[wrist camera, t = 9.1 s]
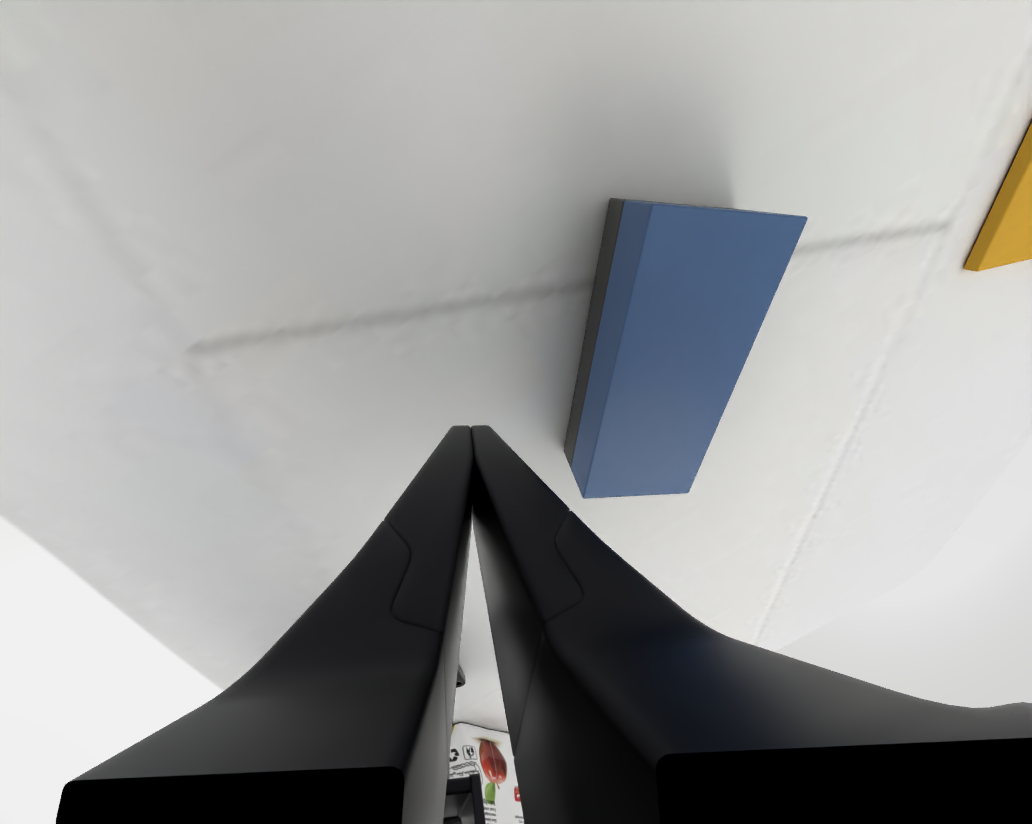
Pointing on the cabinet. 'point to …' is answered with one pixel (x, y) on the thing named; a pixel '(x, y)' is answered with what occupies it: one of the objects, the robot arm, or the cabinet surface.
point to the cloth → (1008, 218)
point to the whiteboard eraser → (668, 339)
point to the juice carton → (488, 770)
